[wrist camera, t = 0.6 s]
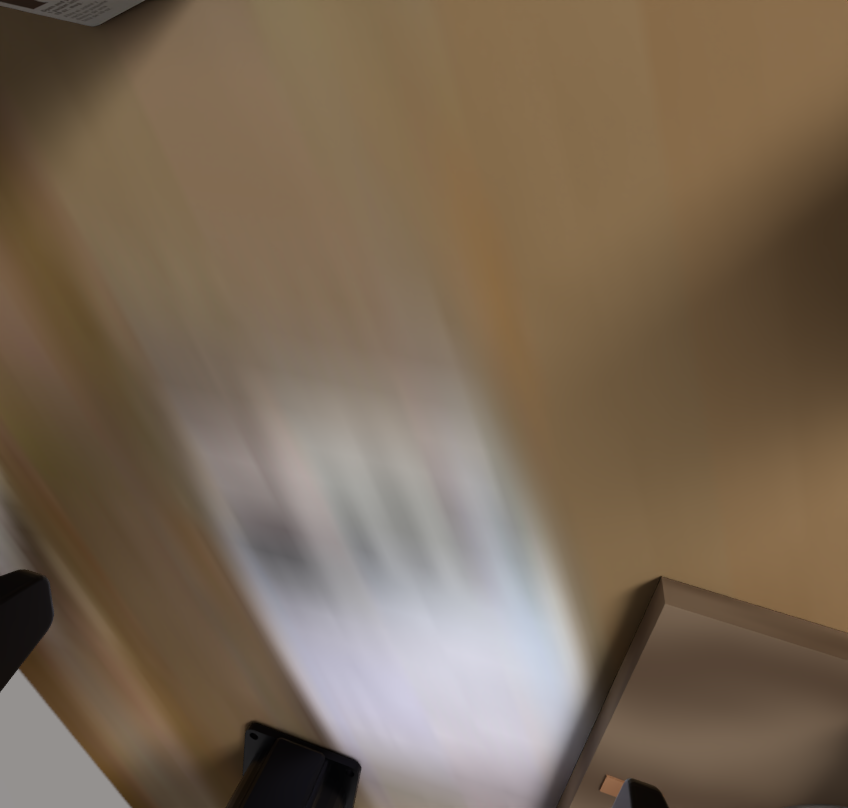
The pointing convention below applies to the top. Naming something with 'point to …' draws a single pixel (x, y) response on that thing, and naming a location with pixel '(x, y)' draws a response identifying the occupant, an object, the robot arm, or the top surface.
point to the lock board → (722, 709)
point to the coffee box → (74, 9)
